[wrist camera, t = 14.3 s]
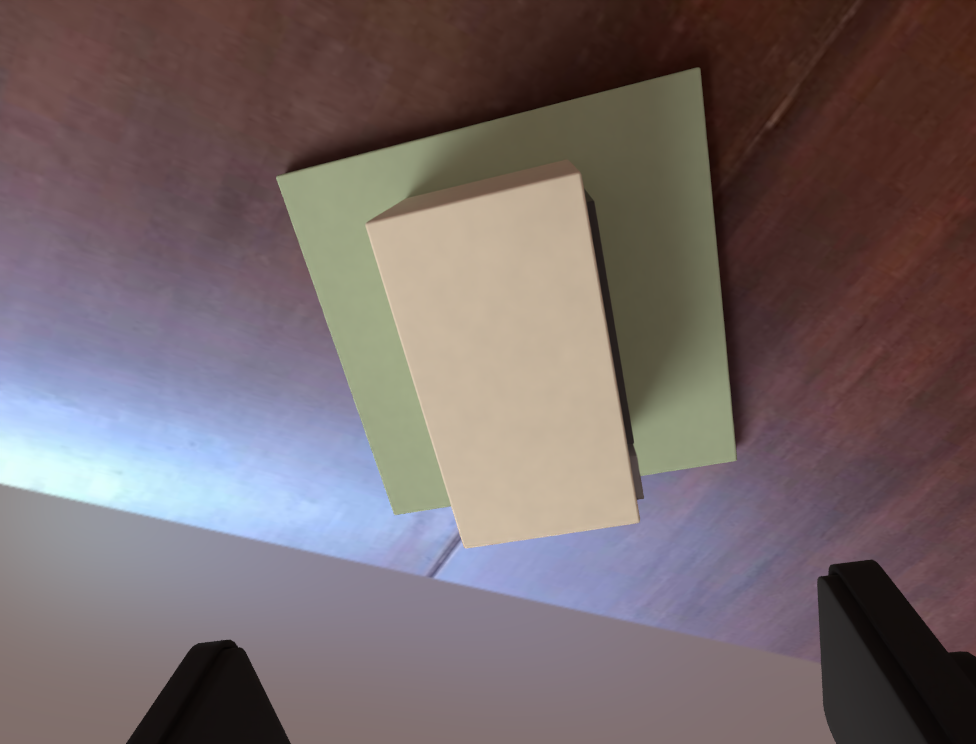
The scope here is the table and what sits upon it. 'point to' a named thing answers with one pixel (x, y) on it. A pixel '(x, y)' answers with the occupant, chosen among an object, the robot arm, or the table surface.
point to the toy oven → (513, 352)
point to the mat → (626, 249)
